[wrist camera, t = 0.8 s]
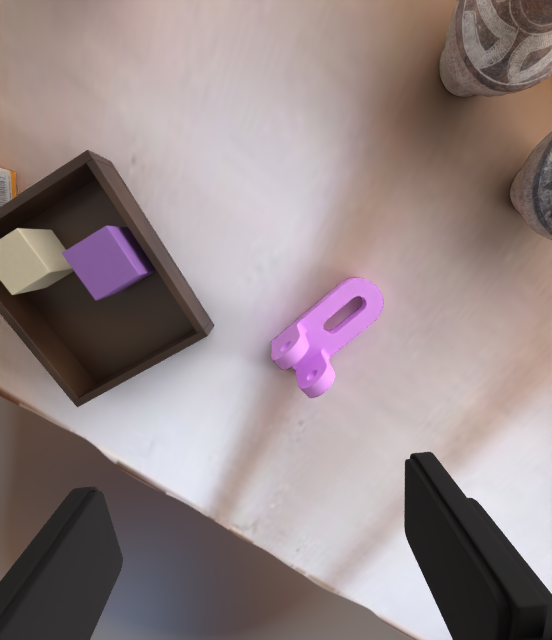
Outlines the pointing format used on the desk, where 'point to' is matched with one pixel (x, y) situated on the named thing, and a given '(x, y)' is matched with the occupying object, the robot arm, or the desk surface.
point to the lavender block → (109, 261)
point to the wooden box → (76, 301)
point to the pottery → (506, 79)
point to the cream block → (31, 260)
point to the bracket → (325, 334)
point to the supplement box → (7, 186)
